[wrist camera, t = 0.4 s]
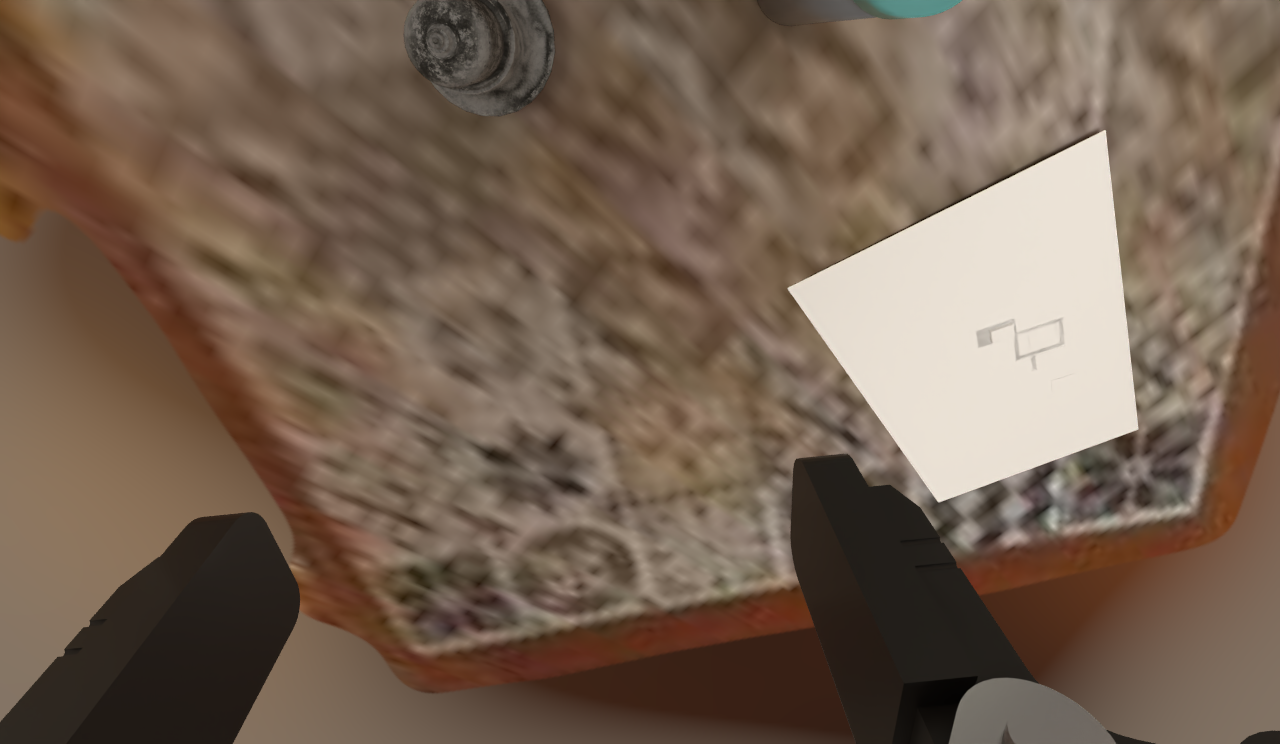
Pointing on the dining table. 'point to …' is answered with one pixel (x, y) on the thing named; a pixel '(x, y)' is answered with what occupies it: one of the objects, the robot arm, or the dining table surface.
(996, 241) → the paper sheet
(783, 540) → the dining table surface
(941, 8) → the marker
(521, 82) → the weathered grey finial
